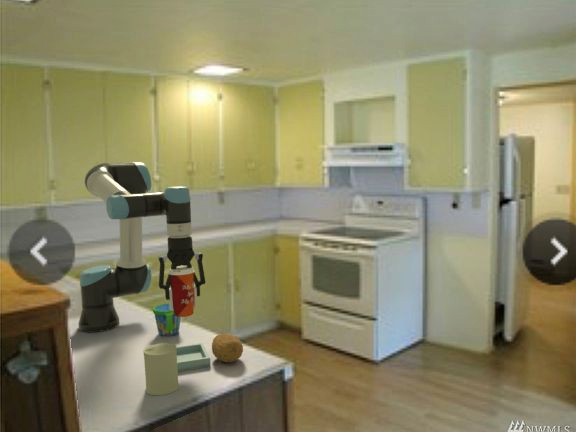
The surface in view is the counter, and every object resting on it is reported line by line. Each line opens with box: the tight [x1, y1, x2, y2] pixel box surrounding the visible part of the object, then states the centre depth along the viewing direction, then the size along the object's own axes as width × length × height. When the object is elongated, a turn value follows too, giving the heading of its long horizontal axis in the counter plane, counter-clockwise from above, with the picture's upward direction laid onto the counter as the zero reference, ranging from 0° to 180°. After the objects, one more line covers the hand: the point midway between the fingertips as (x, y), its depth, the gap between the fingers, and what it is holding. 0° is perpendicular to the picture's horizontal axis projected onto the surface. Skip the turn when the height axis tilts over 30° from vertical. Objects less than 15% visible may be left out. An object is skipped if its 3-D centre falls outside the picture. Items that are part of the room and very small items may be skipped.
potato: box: [211, 332, 244, 363], centre depth 163 cm, size 10×14×8 cm
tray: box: [176, 342, 211, 373], centre depth 163 cm, size 14×13×3 cm
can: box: [143, 342, 180, 396], centre depth 144 cm, size 9×9×12 cm
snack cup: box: [152, 302, 182, 337], centre depth 190 cm, size 16×10×10 cm
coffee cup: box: [167, 265, 196, 318], centre depth 161 cm, size 8×8×15 cm
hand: (183, 307), depth 161 cm, fingers closed on coffee cup, 7 cm apart
